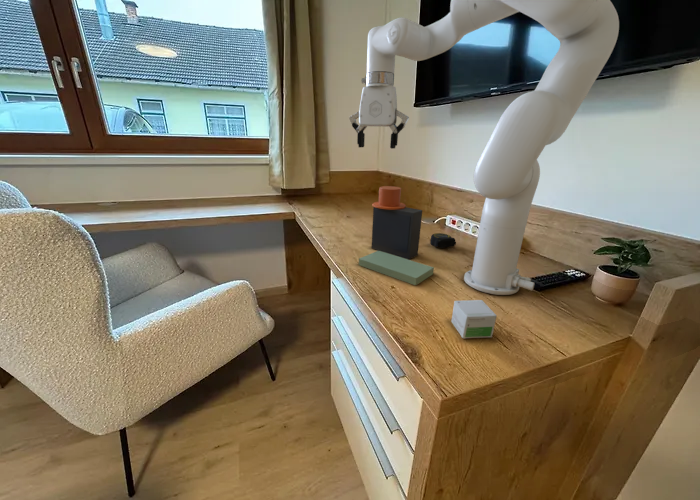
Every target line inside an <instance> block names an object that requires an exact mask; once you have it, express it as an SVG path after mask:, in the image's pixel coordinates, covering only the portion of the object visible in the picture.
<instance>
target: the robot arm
mask: <svg viewBox="0 0 700 500" xmlns="http://www.w3.org/2000/svg"><path fill="white" fill-rule="evenodd" d="M449 5H450V6H449V12H448V13H447V14H446V15H445V16H444V17H442V18H441V19H439V20H436V21H435V22H433V23H431V24H428V25H426V26H423V25H421V24H419V23H417V22H415V21H413V20H411V19H409V18H407V17H402V16H401V17H397V18H394V19H392V20H391V21H389V22H387V23H386V24H383V25H378V26H377V25H376V26H374V27H372V28H370V30H369V31H368V33H367V49H366V74H365V76H364V77H361V84H364V85H365V86H363V87H362V91H361V96H360V103H359V110H358V111H357V112H355V113H353V114H352V115H350V116H349V117H348V118H349V121H350V124H351V126H352V128H353V129H354V131H355V132H356V134H357V139H356V141H357V143H356V144H357V145H358V148H365V138H366V137H365V136H366V134H365V133H364V131H365V130H366V129H367V127H389V128H390V130H391V131H392V133H391V134H390V143H389V144H390V145H389V147H390V149H396V146H398V141H399V134H400V133H401V131H403V129H404V128H406V127H405V126H406V125H407V123H408V121H409V120H410V117H409V116H408V115H407V114H405V113H403V112H401V111H400V110H398V103H397V102H398V97H397V96H398V95H397V88H396V86H395V85H394V84H395V83H394V82H395V68H396V67H395V66H396V56H398V57H402V58H405V59H408V60H411V61H415V62H420V61H425V60H429V59H431V58H433V57H436V56H438V55H441V54H443V53H446V52H447V51H449V50H450V49H452V48H453V47H454V46H455V45H456V44H458V43H459V42H460V41H461V40H462V39H463V37H465V36H466V35H468V34H470V33H472V32H475V31H477V30H479V29H481V28H483V27H485V26H488V25H491V24H493V23H495V22H497V21H498V22H499V21H500V20H502V19H505V18H508V17H510V16H512V15H515V14H517V13H522V14H523V15H525V16H527V17H529V18H531V19H532V20H535V21H536V22H538V23H539V24H540V25H541V26H543V27H544V29H546V31H548V32H549V33H550V34H551V35H552V36H553V37H555V38H556V39H557V40H558V41H559V48H558V50H557V52H556V53H555V55H554V57H553V58H552V59H551V61H549V64H548V65H547V66H546V68H545V70H544V72H543V74H542V76H541V78H540V80H539V82H538V83H537V85H536V87H535V89H534V90H532V91H528V92H525V93H523V94H520V95H519V96H518V97H517V98H515V99H513V101H512V102H511V103H509V105H508V106H507V107H506V109H504V111H503V113H502V114H501V116H500V118H499V119H498V121H497V123H496V125H495V127H494V129H493V131H492V133H491V135H490V136H489V139H488V141H487V143H486V145H485V146H484V149H483V150H482V152H481V155H480V156H479V159H478V161H477V163H476V165H475V168H474V172H473V183H474V187H475V189H476V190H477V192H478V193H479V194H480V195H481V196H483V197H484V198H485V200H484V203H483V207H482V210H481V216H480V221H479V228H478V234H477V239H476V244H475V251H474V257H473V262H472V268H471V269H470V270H468V271H466V272H465V273H464V274H463V275H464V276H463V280H464V282H465V284H467V285H468V286H469V287H471V288H472V289H475V290H476V291H478V292H479V291H480V292H482V293H485V294H490V295H497V296H509V295H513V294H516V293H517V292H519V290H520V288H523V289H525V290H528V291H533V290H534V288H535V282H533V281H532V278H530V277H526V276H523V275H522V276H521V274H520V268H517V266H518V264H519V263H518V262H519V258H520V253H521V250H522V245H523V240H524V235H525V232H526V226H527V223H528V220H529V215H530V212H531V207H532V203H533V200H534V197H535V194H536V192H537V189H538V185H539V182H540V176H541V167H540V163H539V161H538V159H539V157H540V155H541V153H542V152H543V151H544V149H545V147H546V146H548V145H551V144H553V143H554V142H557V141H558V139H561V137H562V136H563V135H564V133H565V132H566V130H567V128H568V127H569V125H570V123H571V122H572V120H573V118H574V117H575V115H576V113H577V111H579V108H580V107H581V105H582V103H583V102H584V100H585V99H586V97H587V95H588V94H589V92H590V90H591V88H592V87H593V85H594V83H595V82H596V80H597V79H598V77H599V75H600V74H601V72H602V70H603V69H604V67H605V65H606V64H607V62H608V60H609V58H610V57H611V54H612V53H613V51H614V48H615V47H616V43H617V40H618V37H619V32H620V31H619V30H620V19H619V15H618V12H617V9H616V8H615V6H614V4H613V2H612V1H611V0H450V4H449ZM398 118H400V119H401V121H400V123H399V124H398V125H397V121H398ZM357 119H358V123H357Z"/></svg>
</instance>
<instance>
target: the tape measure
mask: <svg viewBox="0 0 700 500" xmlns="http://www.w3.org/2000/svg"><path fill="white" fill-rule="evenodd" d="M429 242H430V245H431V246H432V247H435V248H437V249H445V248H452V247H455V246H456V244H457V241H456V239H455V237H452V236H451V235H449V234H448V233H442V232H437V233H432V234H431V235H430V241H429Z"/></svg>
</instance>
